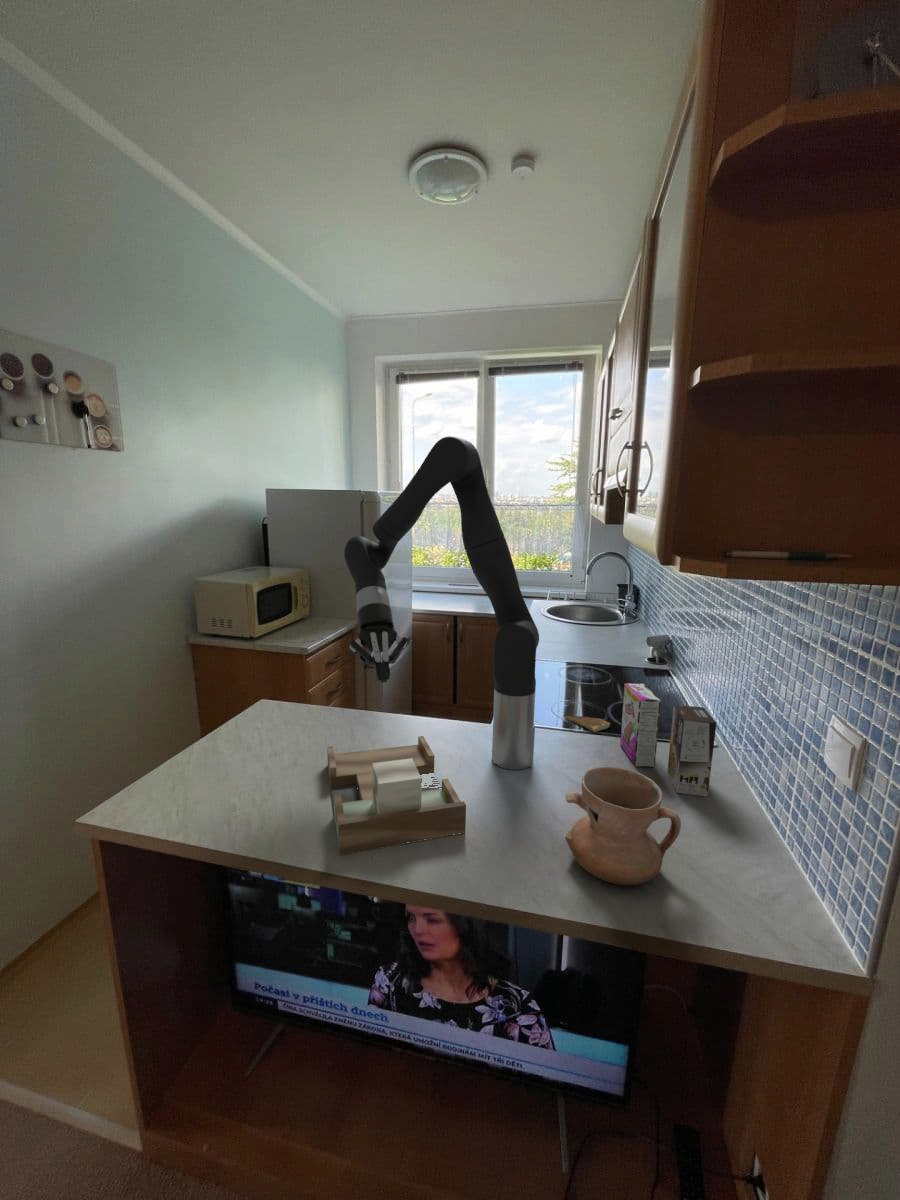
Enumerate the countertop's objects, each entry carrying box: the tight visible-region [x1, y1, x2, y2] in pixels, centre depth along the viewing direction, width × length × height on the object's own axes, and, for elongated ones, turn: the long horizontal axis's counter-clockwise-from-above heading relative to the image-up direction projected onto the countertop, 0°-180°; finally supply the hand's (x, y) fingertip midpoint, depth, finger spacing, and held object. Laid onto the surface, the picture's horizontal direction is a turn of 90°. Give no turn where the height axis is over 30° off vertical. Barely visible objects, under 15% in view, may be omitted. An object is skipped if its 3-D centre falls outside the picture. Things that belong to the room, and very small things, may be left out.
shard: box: [563, 715, 611, 733], centre depth 139 cm, size 11×8×2 cm
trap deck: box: [326, 735, 467, 856], centre depth 101 cm, size 31×22×6 cm
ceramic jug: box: [564, 765, 682, 886], centre depth 81 cm, size 18×14×14 cm
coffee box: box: [666, 704, 718, 797], centre depth 107 cm, size 9×6×16 cm
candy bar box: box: [619, 682, 662, 768], centre depth 119 cm, size 11×5×16 cm, turn 179°
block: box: [372, 758, 422, 815], centre depth 91 cm, size 8×8×8 cm
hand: (383, 680), depth 104 cm, fingers closed
